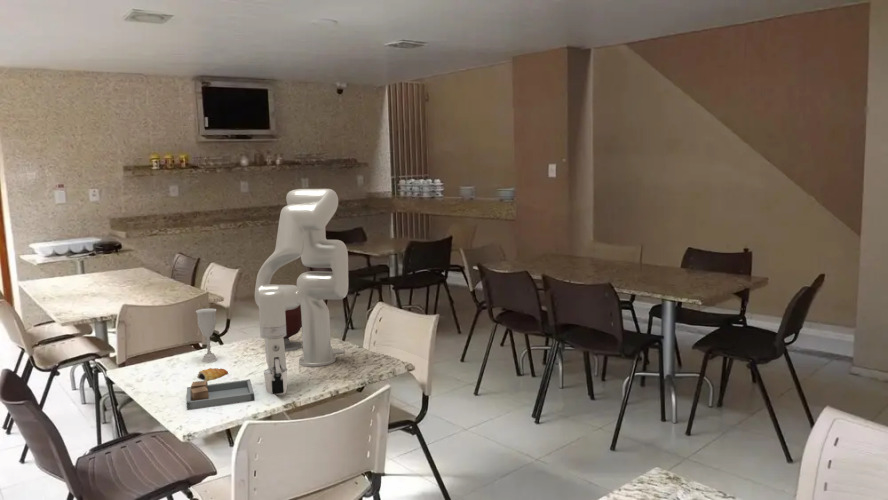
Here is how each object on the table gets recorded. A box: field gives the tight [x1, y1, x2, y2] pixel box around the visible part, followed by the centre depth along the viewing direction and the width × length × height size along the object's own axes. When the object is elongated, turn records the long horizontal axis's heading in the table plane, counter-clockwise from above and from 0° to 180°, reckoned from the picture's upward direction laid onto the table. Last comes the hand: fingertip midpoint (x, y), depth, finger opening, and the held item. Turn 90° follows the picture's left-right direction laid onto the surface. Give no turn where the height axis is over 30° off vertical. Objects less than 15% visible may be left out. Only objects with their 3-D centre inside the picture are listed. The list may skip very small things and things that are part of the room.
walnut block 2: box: [191, 387, 209, 401], centre depth 185 cm, size 4×4×4 cm
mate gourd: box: [283, 305, 303, 353], centre depth 245 cm, size 16×14×20 cm
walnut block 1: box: [190, 380, 209, 389], centre depth 191 cm, size 4×4×4 cm
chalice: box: [195, 308, 218, 363], centre depth 230 cm, size 7×7×18 cm
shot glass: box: [263, 367, 288, 397], centre depth 195 cm, size 7×7×7 cm
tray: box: [186, 379, 255, 411], centre depth 190 cm, size 18×14×3 cm
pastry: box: [196, 367, 229, 382], centre depth 210 cm, size 9×7×4 cm
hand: (276, 389), depth 196 cm, fingers closed on shot glass, 6 cm apart
